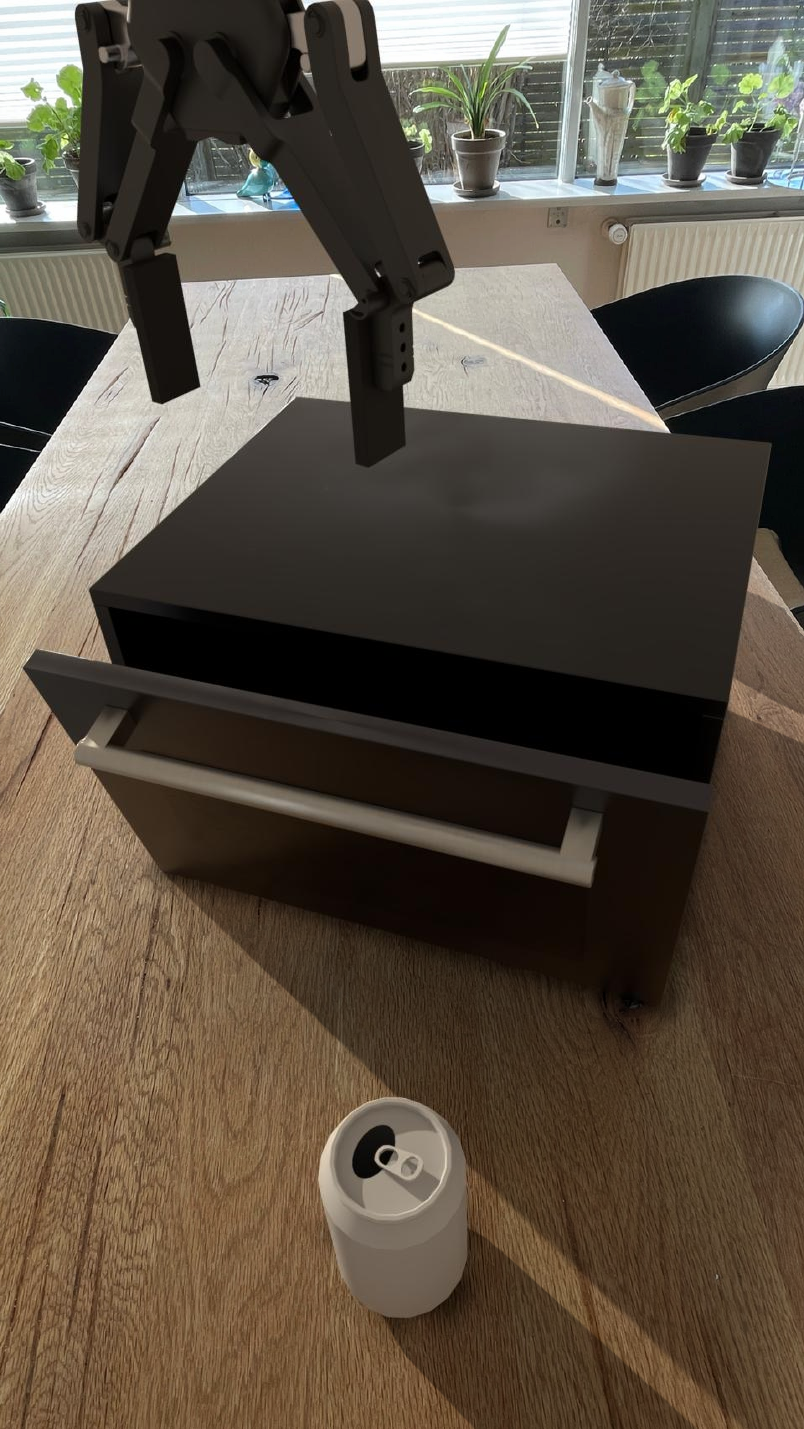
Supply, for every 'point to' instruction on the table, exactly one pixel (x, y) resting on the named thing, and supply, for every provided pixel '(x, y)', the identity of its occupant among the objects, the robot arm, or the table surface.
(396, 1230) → the can
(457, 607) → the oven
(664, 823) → the oven door
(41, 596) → the table surface
